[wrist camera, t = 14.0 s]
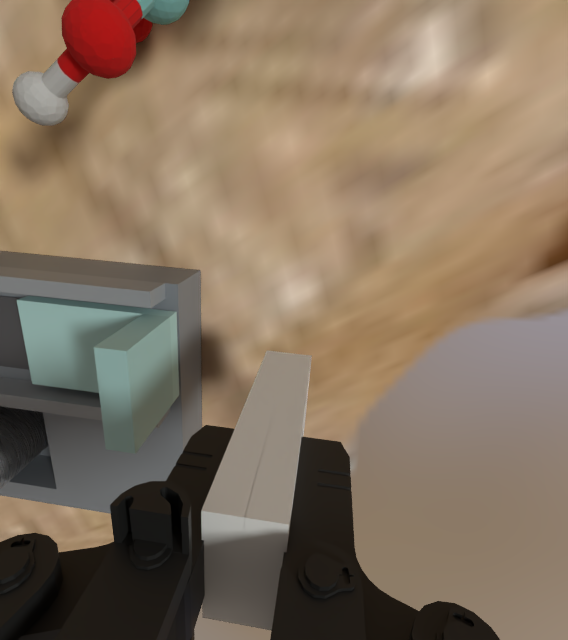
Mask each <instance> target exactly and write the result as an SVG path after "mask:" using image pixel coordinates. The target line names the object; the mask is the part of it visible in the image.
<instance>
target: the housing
mask: <svg viewBox="0 0 568 640" xmlns="http://www.w3.org/2000/svg"><path fill="white" fill-rule="evenodd" d="M26 296H38V297H47V298H56V299H65V300H74V301H84V302H93V303H102V304H111V305H120V306H130V307H139V308H148V309H157V310H166V311H175V312H177V341H178V371H179V396H178V397H177V399H176V400H175V401H174V403H173V404H172V405H171V407H170V408H169V409H168V411H167V412H166V413H165V415H164V416H163V417H162V419H161V420H160V421H159V423H158V424H157V425H156V427H155V428H154V429H153V431H152V432H151V434H150V435H149V436H148V438H147V439H146V440H145V442H144V443H143V444H142V446H141V447H140V448H139V450H138V451H137V452H136V454H133V453H127V452H120V451H113V450H107V449H106V447H105V438H104V430H103V422H102V413H101V405H100V396H99V393H96V392H89V391H81V390H74V389H66V388H59V387H51V386H44V385H36V384H32V380H31V374H30V369H29V364H28V358H27V353H26V348H25V342H24V337H23V332H22V326H21V321H20V316H19V310H18V305H17V300H18V299H20V298H23V297H26ZM0 406H2V407H9V408H16V409H23V410H30V411H37V412H43V417H44V422H45V428H46V433H47V439H48V444H49V446H48V447H46V448H45V449H44V450H43V451H42V452H41V453H40V454H39V455H38V456H37V457H35V458H34V459H33V460H32V461H31V462H30V463H29V464H28V465H27V466H26V467H24V468H23V469H22V470H21V471H20V472H19V473H18V474H17V475H16V476H15V477H13V478H12V479H11V480H10V481H9V482H8V483H7V484H6V485H5V486H3V487H2V488H1V489H0V495H2V496H8V497H14V498H20V499H26V500H32V501H38V502H44V503H50V504H56V505H62V506H68V507H75V508H81V509H87V510H93V511H99V512H105V513H111V511H110V505H111V503H112V502H113V501H114V500H115V499H116V498H117V497H118V496H119V495H120V494H121V493H123V492H125V491H127V490H128V489H130V488H132V487H134V486H135V485H139V484H142V483H146V482H150V481H166V480H167V478H168V476H169V474H170V473H171V471H172V469H173V467H174V466H176V462H177V460H178V459H179V457H180V455H181V454H182V453H183V450H184V448H185V446H186V445H187V443H188V441H189V439H190V438H191V436H192V435H194V434H195V433H196V432H198V431H199V430H200V429H201V428H202V384H201V280H200V270H193V269H182V268H172V267H162V266H151V265H141V264H131V263H121V262H110V261H100V260H90V259H80V258H69V257H59V256H49V255H38V254H28V253H18V252H8V251H0Z"/></svg>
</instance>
